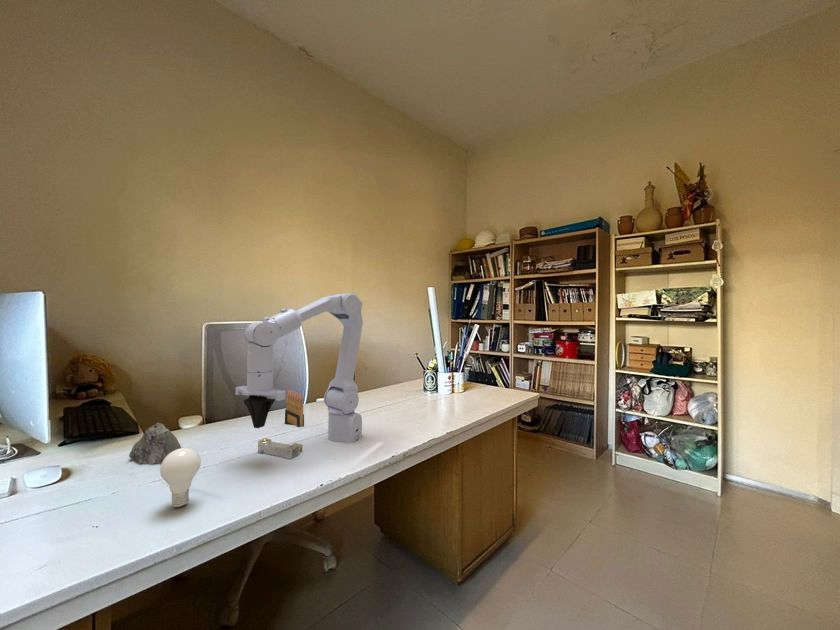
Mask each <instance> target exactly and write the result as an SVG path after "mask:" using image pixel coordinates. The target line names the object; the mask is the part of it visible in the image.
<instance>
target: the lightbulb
mask: <svg viewBox="0 0 840 630" xmlns="http://www.w3.org/2000/svg"><path fill="white" fill-rule="evenodd" d="M201 459H202V458H201V456H200V454H199V453H198V451H196V450H195V449H193V448H191V447H181V448H180V449H176V450H174V451H172V452H171V453H169V454H168V455H167V456H166V457H165V458H164V460H163V462H162V464H160V467H159V473H160V476H161V478H162V479H163V481H165V483H167V485H168V487H169V490H170V492H171V506H172V508H173V507H174V508H182V507H184V506H186V504H188V503H189V501H190V499H189V498H190V497H189V495H190V488H191V485H192V482H193V480H194V478H195V476H196V475H197V474H198V471H199V470H200V468H201V463H202V461H201Z"/></svg>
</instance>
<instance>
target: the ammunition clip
mask: <svg viewBox="0 0 840 630" xmlns="http://www.w3.org/2000/svg"><path fill="white" fill-rule="evenodd" d="M284 425H288V426H296V427H297V428H302V427H303V428H304V427H305V414H304V404H303V394H302V393H300V392H297V391H294V390H291V389H288V390H287V392H286V402H285V409H284Z"/></svg>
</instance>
